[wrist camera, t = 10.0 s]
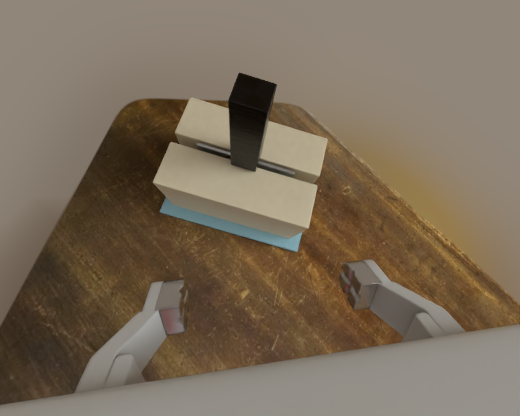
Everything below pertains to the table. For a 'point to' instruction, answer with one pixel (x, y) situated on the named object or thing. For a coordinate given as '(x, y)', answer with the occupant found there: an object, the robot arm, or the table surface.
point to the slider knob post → (248, 124)
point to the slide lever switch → (240, 179)
